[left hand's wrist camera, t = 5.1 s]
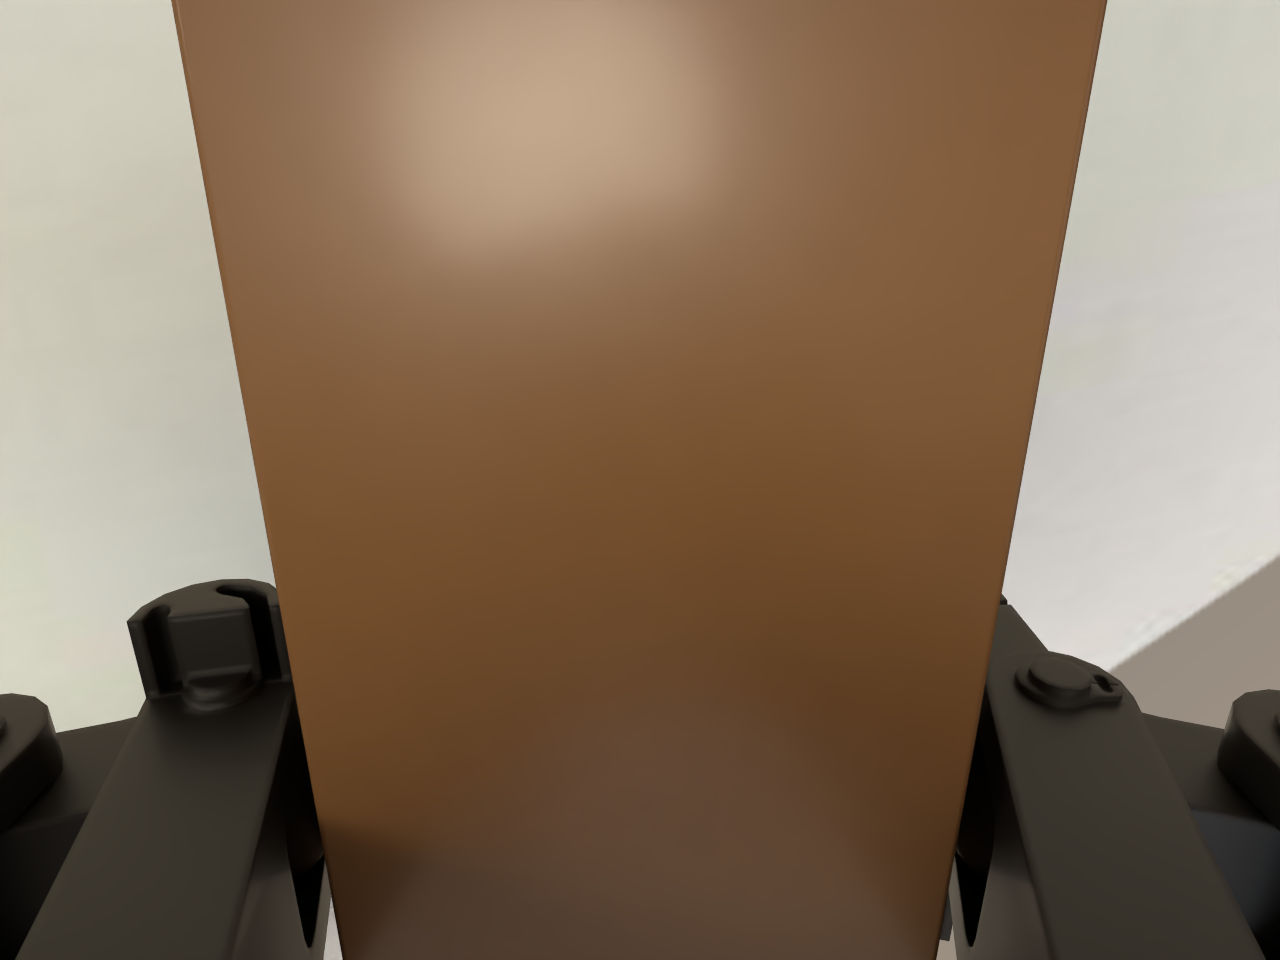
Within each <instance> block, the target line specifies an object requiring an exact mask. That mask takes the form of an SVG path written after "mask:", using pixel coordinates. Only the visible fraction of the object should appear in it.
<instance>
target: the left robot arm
mask: <svg viewBox="0 0 1280 960" xmlns="http://www.w3.org/2000/svg"><path fill="white" fill-rule="evenodd" d="M127 625H128V629H129V633H130V636H131V640H132V644H133V648H134V652H135V656H136V660H137V664H138V668H139V672H140V675H141V679H142V683H143V687H144V691H145V695H146V700H145V702H144V704H143V706H142V708H141V710H140V712H139V714H138V716H137V717H133V718H129V719H125V720H121V721H117V722H111V723H106V724H101V725H96V726H90V727H85V728H80V729H75V730H69V731H64V732H59V733H56V732H55V729H54V725H53V722H52V719H51V716H50V712H49V709H48V706H47V705H45V704H44V703H43V702H41V701H40V700H39V699H37V698H36V697H34V696H27V695H20V694H12V693H11V694H1V695H0V960H323V957H324V949H325V941H326V933H327V924H328V916H329V908H330V900H331V890H330V885H329V879H328V874H327V868H326V863H325V857H324V851H323V846H322V840H321V835H320V829H319V823H318V818H317V812H316V807H315V801H314V795H313V790H312V784H311V779H310V773H309V767H308V762H307V756H306V751H305V745H304V739H303V734H302V728H301V723H300V717H299V712H298V706H297V700H296V695H295V689H294V684H293V678H292V672H291V667H290V661H289V656H288V650H287V644H286V639H285V633H284V628H283V622H282V616H281V611H280V605H279V600H278V594H277V589H276V588H275V587H273V586H272V585H271V584H269V583H265V582H260V581H256V580H251V579H222V580H216V581H210V582H205V583H199V584H194V585H190V586H187V587H184V588H182V589H179V590H176V591H173V592H170V593H167V594H164V595H162V596H161V597H159V598H157V599H155V600H153V601H151V602H150V603H148V604H146V605H144V606H142V607H141V608H140V609H139V610H138V611H137V612H136V613H135V614H134V615H133V616H132V617H131V618H130V619H129V620H128V621H127ZM952 924H953V931H954V939H955V947H956V955H957V960H1280V691H1279V690H1269V689H1268V690H1261V691H1254V692H1247V693H1245V694H1243V695H1242V696H1240V697H1239V698H1238V699H1236V700H1235V701H1234V702H1233V704H1232V707H1231V710H1230V713H1229V716H1228V720H1227V723H1226V726H1225V729H1220V728H1215V727H1210V726H1204V725H1199V724H1194V723H1188V722H1183V721H1178V720H1173V719H1167V718H1162V717H1158V716H1154V715H1149V714H1145V713H1142V712H1141V710H1140V708H1139V706H1138V704H1137V702H1136V700H1135V698H1134V697H1133V695H1132V694H1131V693H1130V692H1129V691H1128V690H1127V688H1126V687H1125V686H1124V685H1123V684H1122V682H1121V681H1120V680H1118V679H1117V678H1115V677H1113V676H1112V675H1110V674H1109V673H1107V672H1106V671H1104V670H1103V669H1101V668H1100V667H1098V666H1096V665H1093V664H1091V663H1088V662H1086V661H1083V660H1081V659H1078V658H1076V657H1073V656H1070V655H1065V654H1060V653H1055V652H1051V651H1048V650H1047V649H1046V647H1045V646H1044V645H1043V644H1042V642H1041V641H1040V640H1039V639H1038V638H1037V636H1036V635H1035V634H1034V633H1033V631H1032V630H1031V629H1030V628H1029V627H1028V625H1027V624H1026V623H1025V622H1024V620H1023V619H1022V618H1021V617H1020V615H1019V614H1018V613H1017V612H1016V611H1015V609H1014V608H1013V607H1012V606H1011V605H1007V600H1006V598H1005V597H1004V596H1003V595H1002V593H1001V599H1000V604H999V610H998V615H997V621H996V627H995V632H994V638H993V643H992V649H991V655H990V660H989V666H988V672H987V677H986V683H985V688H984V694H983V700H982V705H981V711H980V716H979V722H978V728H977V733H976V739H975V744H974V750H973V756H972V761H971V767H970V772H969V778H968V784H967V789H966V795H965V800H964V806H963V812H962V817H961V823H960V828H959V834H958V840H957V845H956V851H955V856H954V862H953V868H952V873H951V879H950V884H949V890H948V896H947V901H946V907H945V912H944V918H943V924H942V929H941V935H940V940H946V941H949V940H950V935H951V929H952Z"/></svg>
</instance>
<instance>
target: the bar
mask: <svg viewBox="0 0 1280 960" xmlns="http://www.w3.org/2000/svg"><path fill="white" fill-rule="evenodd" d="M171 1H172V7H173V12H174V18H175V24H176V29H177V35H178V40H179V46H180V52H181V57H182V63H183V68H184V74H185V79H186V85H187V91H188V96H189V102H190V107H191V113H192V119H193V124H194V130H195V135H196V141H197V147H198V152H199V158H200V163H201V169H202V175H203V180H204V186H205V191H206V197H207V203H208V208H209V214H210V219H211V225H212V231H213V236H214V242H215V247H216V253H217V258H218V264H219V270H220V275H221V281H222V286H223V292H224V298H225V303H226V309H227V314H228V320H229V326H230V331H231V337H232V342H233V348H234V354H235V359H236V365H237V370H238V376H239V382H240V387H241V393H242V398H243V404H244V409H245V415H246V421H247V426H248V432H249V437H250V443H251V449H252V454H253V460H254V465H255V471H256V477H257V482H258V488H259V493H260V499H261V505H262V510H263V516H264V521H265V527H266V533H267V538H268V544H269V549H270V555H271V560H272V566H273V572H274V577H275V583H276V588H277V594H278V600H279V605H280V611H281V616H282V622H283V628H284V633H285V639H286V644H287V650H288V656H289V661H290V667H291V672H292V678H293V684H294V689H295V695H296V700H297V706H298V712H299V717H300V723H301V728H302V734H303V739H304V745H305V751H306V756H307V762H308V767H309V773H310V779H311V784H312V790H313V795H314V801H315V807H316V812H317V818H318V823H319V829H320V835H321V840H322V846H323V851H324V857H325V863H326V868H327V874H328V879H329V885H330V890H331V896H332V902H333V907H334V913H335V918H336V924H337V930H338V935H339V941H340V946H341V952H342V958H343V960H936V957H937V952H938V946H939V940H940V935H941V929H942V924H943V918H944V912H945V907H946V901H947V896H948V890H949V884H950V879H951V873H952V868H953V862H954V856H955V851H956V845H957V840H958V834H959V828H960V823H961V817H962V812H963V806H964V800H965V795H966V789H967V784H968V778H969V772H970V767H971V761H972V756H973V750H974V744H975V739H976V733H977V728H978V722H979V716H980V711H981V705H982V700H983V694H984V688H985V683H986V677H987V672H988V666H989V660H990V655H991V649H992V643H993V638H994V632H995V627H996V621H997V615H998V610H999V604H1000V599H1001V593H1002V587H1003V582H1004V576H1005V571H1006V565H1007V559H1008V554H1009V548H1010V543H1011V537H1012V531H1013V526H1014V520H1015V515H1016V509H1017V503H1018V498H1019V492H1020V487H1021V481H1022V475H1023V470H1024V464H1025V459H1026V453H1027V447H1028V442H1029V436H1030V431H1031V425H1032V419H1033V414H1034V408H1035V403H1036V397H1037V391H1038V386H1039V380H1040V374H1041V369H1042V363H1043V358H1044V352H1045V346H1046V341H1047V335H1048V330H1049V324H1050V318H1051V313H1052V307H1053V302H1054V296H1055V290H1056V285H1057V279H1058V274H1059V268H1060V262H1061V257H1062V251H1063V246H1064V240H1065V234H1066V229H1067V223H1068V218H1069V212H1070V206H1071V201H1072V195H1073V190H1074V184H1075V178H1076V173H1077V167H1078V162H1079V156H1080V150H1081V145H1082V139H1083V134H1084V128H1085V122H1086V117H1087V111H1088V106H1089V100H1090V94H1091V89H1092V83H1093V77H1094V72H1095V66H1096V61H1097V55H1098V49H1099V44H1100V38H1101V33H1102V27H1103V21H1104V16H1105V10H1106V5H1107V0H171Z"/></svg>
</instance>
